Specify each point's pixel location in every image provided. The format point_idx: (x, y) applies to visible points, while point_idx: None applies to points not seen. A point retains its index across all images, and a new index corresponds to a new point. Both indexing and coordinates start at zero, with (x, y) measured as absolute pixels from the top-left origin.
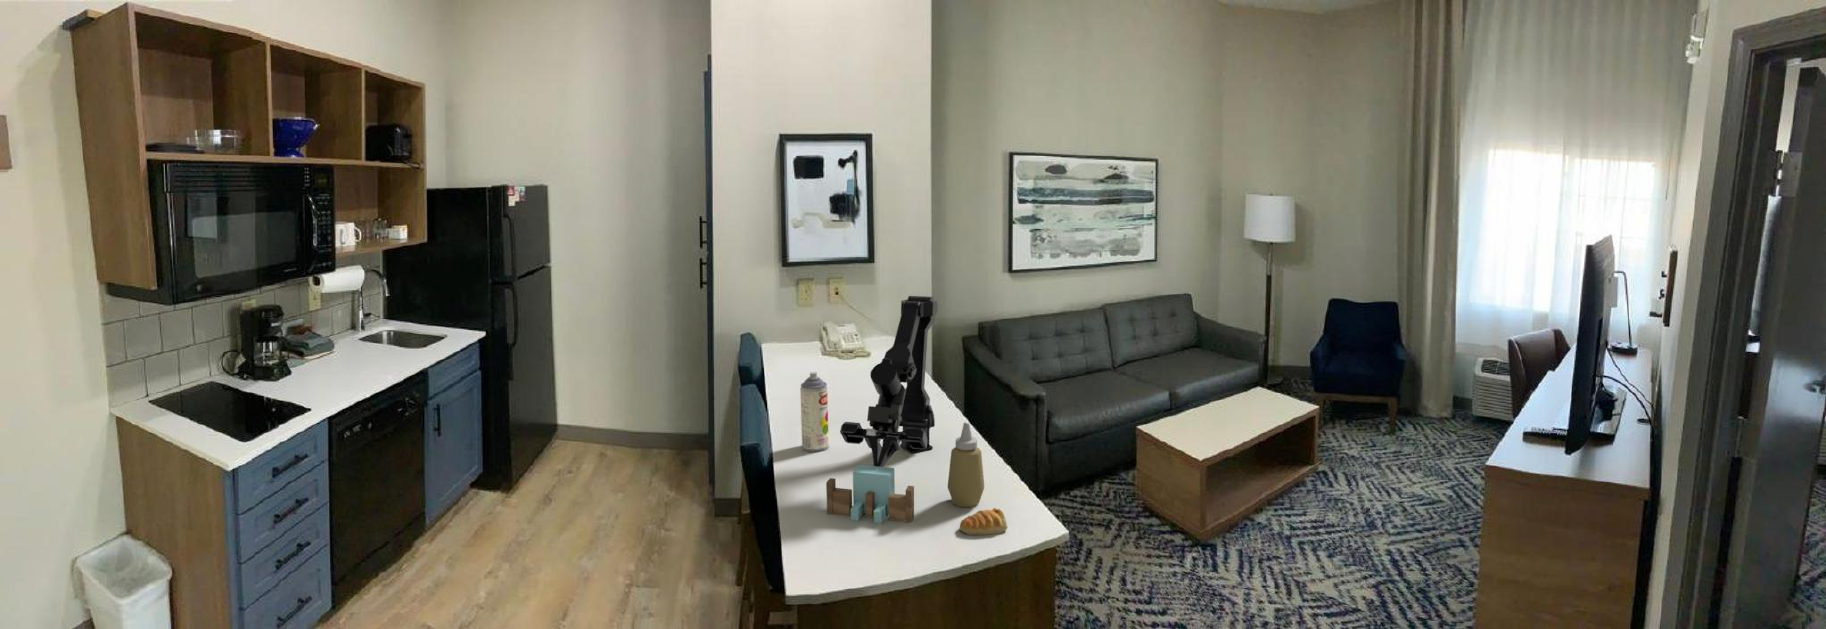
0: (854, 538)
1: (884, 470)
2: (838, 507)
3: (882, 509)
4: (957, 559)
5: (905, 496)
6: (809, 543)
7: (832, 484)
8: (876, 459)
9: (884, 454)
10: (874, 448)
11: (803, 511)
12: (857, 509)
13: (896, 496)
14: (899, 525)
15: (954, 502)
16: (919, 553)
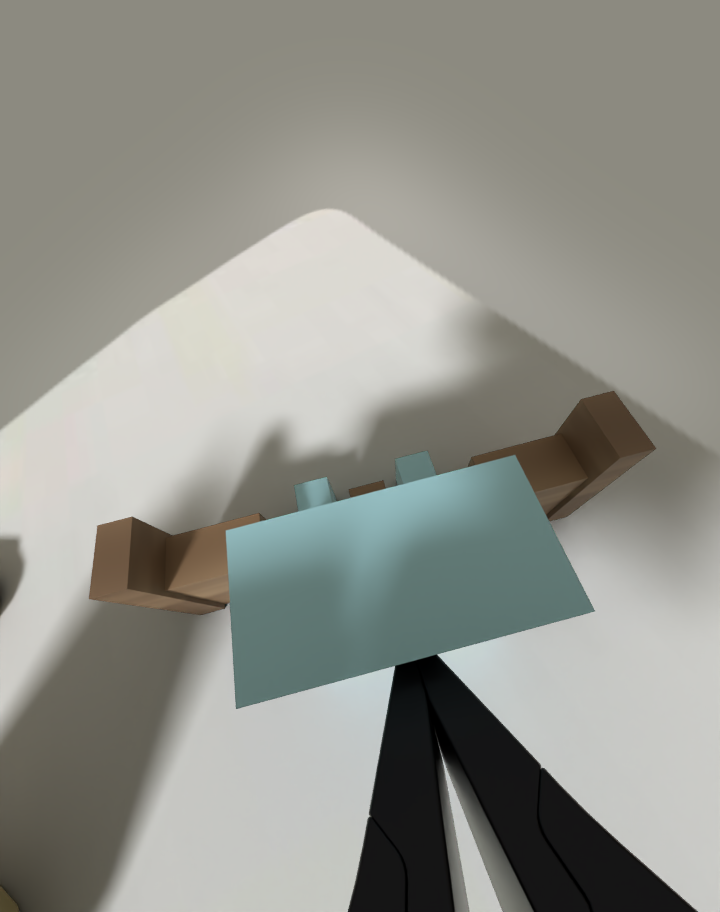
0: (337, 381)
1: (300, 600)
2: None
3: (300, 509)
4: (19, 419)
5: (175, 565)
6: (435, 309)
7: (580, 418)
8: (456, 730)
9: (373, 839)
10: (592, 890)
11: None
12: (397, 458)
13: (222, 541)
14: None
15: (5, 901)
16: (127, 399)
